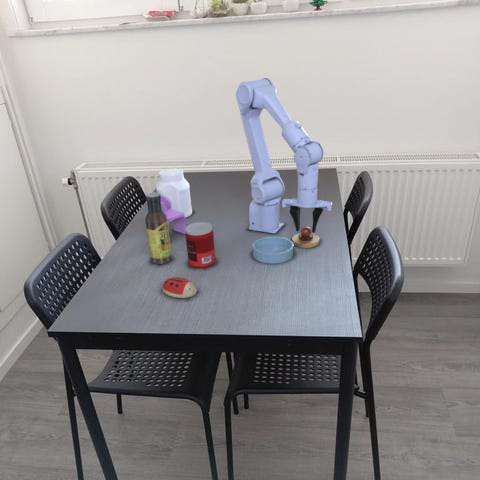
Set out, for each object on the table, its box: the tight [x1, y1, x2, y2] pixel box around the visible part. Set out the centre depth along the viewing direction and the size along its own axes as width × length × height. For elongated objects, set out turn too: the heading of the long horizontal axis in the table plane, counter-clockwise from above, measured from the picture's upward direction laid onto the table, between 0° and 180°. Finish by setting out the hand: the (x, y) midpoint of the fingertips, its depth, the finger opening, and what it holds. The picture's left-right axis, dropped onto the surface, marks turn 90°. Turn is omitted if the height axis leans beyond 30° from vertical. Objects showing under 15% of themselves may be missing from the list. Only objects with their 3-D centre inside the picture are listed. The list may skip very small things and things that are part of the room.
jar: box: [155, 167, 193, 219], centre depth 168 cm, size 12×10×15 cm
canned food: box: [184, 221, 216, 269], centre depth 136 cm, size 8×8×11 cm
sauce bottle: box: [145, 191, 172, 265], centre depth 136 cm, size 6×6×20 cm
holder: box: [291, 232, 320, 249], centre depth 148 cm, size 8×8×2 cm
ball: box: [300, 226, 312, 237], centre depth 146 cm, size 3×3×3 cm
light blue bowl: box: [251, 236, 295, 265], centre depth 141 cm, size 12×12×3 cm
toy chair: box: [160, 194, 187, 235], centre depth 152 cm, size 8×9×15 cm
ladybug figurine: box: [161, 276, 198, 299], centre depth 125 cm, size 7×10×4 cm
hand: (305, 230), depth 146 cm, fingers open, 4 cm apart
